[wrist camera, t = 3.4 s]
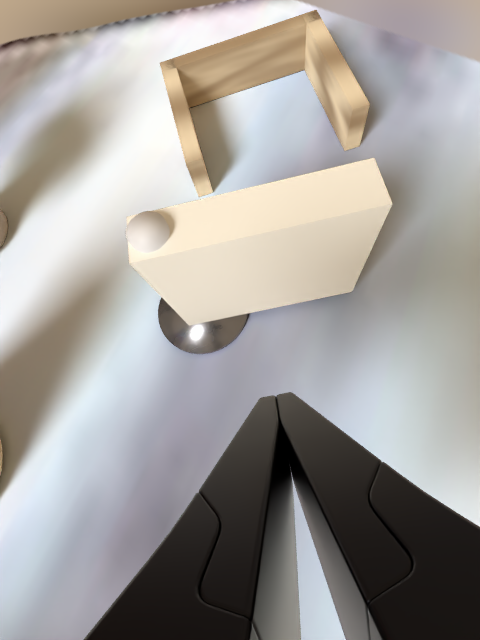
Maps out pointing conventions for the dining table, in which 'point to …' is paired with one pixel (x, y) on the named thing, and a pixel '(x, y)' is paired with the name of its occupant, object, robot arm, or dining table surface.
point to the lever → (262, 243)
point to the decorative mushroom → (3, 227)
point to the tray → (264, 80)
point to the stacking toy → (1, 456)
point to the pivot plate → (198, 331)
